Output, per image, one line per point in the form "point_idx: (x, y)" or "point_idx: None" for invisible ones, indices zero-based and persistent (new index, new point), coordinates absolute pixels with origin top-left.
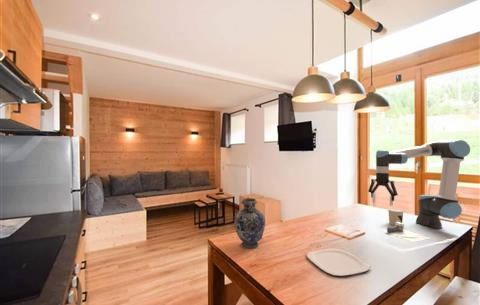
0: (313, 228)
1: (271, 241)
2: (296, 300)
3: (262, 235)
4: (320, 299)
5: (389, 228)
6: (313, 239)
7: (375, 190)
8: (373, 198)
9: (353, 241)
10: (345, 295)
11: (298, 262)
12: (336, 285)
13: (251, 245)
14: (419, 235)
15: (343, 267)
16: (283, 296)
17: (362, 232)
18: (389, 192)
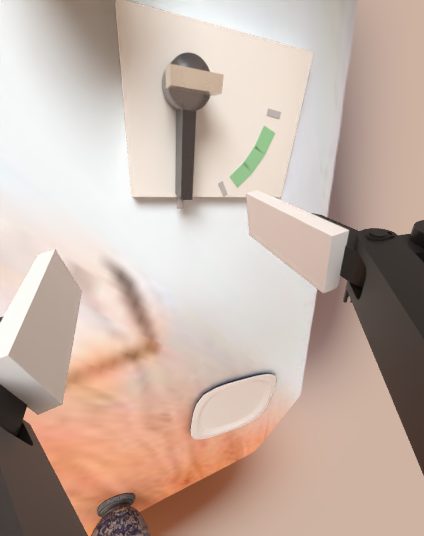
0: None
1: (108, 483)
2: (261, 443)
3: (129, 517)
4: (272, 428)
5: (192, 196)
6: (124, 422)
7: (1, 445)
8: (73, 330)
9: (174, 345)
10: (282, 411)
11: (205, 444)
12: (268, 414)
13: (130, 503)
14: (270, 61)
15: (250, 401)
16: (251, 451)
17: (111, 273)
18: (372, 336)
